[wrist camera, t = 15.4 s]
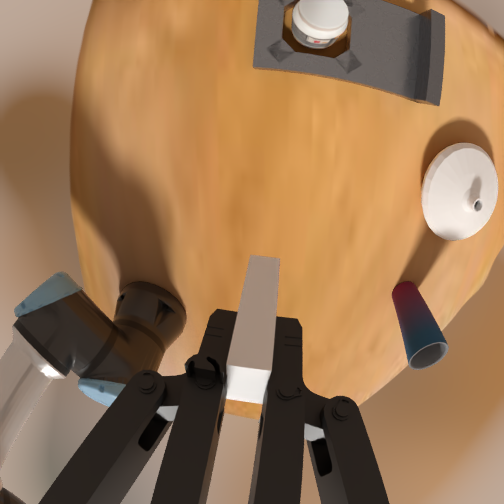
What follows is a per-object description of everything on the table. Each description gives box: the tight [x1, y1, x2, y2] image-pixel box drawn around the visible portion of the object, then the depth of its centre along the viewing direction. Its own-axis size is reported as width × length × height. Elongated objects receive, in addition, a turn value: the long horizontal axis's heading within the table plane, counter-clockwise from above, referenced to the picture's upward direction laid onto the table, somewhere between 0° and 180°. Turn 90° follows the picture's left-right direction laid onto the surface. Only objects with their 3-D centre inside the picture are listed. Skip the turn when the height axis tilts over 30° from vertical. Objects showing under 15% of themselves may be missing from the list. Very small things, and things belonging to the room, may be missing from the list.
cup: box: [392, 281, 448, 370], centre depth 37 cm, size 7×7×15 cm
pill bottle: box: [292, 0, 349, 49], centre depth 20 cm, size 6×6×10 cm
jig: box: [253, 0, 445, 106], centre depth 21 cm, size 22×13×6 cm, turn 86°
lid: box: [421, 143, 498, 241], centre depth 29 cm, size 16×16×7 cm
